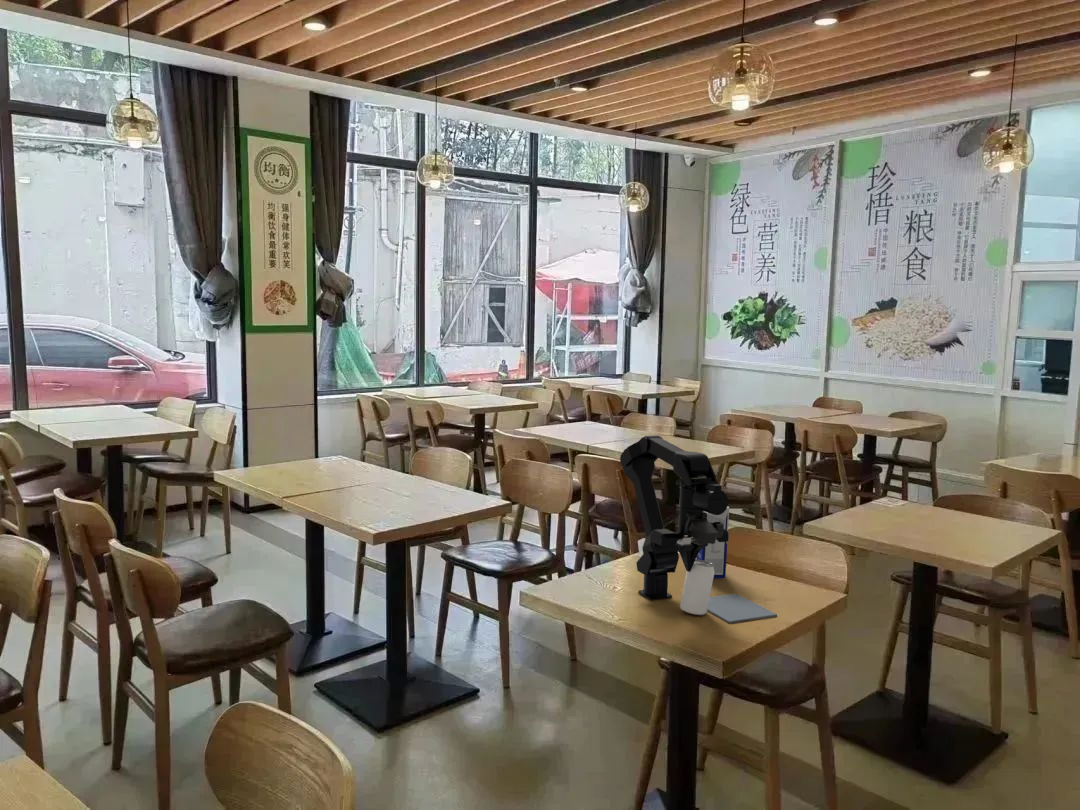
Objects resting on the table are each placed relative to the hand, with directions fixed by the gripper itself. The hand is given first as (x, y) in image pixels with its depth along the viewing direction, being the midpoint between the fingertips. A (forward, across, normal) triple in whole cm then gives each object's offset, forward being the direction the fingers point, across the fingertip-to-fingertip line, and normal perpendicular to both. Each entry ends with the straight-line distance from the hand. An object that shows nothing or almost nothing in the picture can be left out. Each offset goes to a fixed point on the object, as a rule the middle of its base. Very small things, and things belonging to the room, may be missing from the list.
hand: (688, 571), depth 207 cm
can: (+10, +2, +1) cm, 11 cm away
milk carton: (+10, +24, +25) cm, 36 cm away
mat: (+10, +13, 0) cm, 17 cm away
